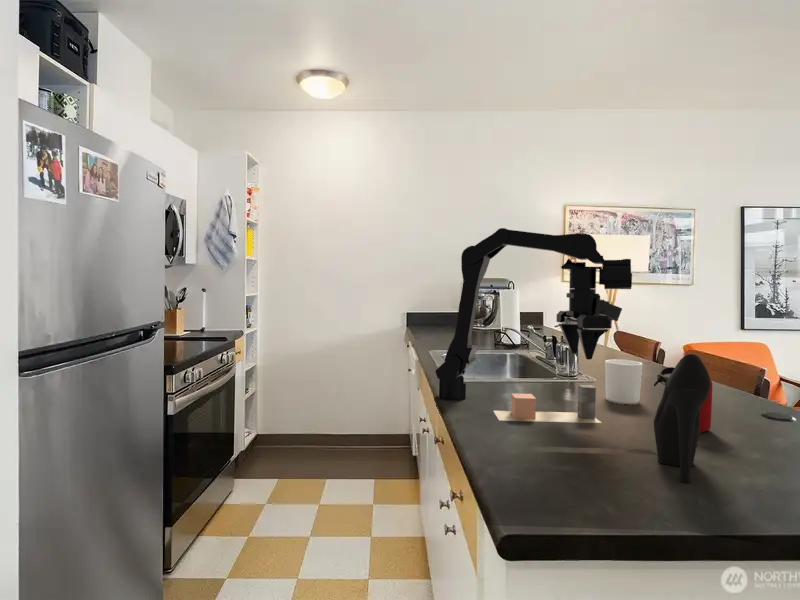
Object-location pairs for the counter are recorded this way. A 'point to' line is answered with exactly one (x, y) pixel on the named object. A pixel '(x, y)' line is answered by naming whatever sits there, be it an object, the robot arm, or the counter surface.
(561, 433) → the counter surface
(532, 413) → the block
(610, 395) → the mug
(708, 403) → the beverage can
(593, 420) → the strip
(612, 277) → the robot arm
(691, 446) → the high-heeled shoe
